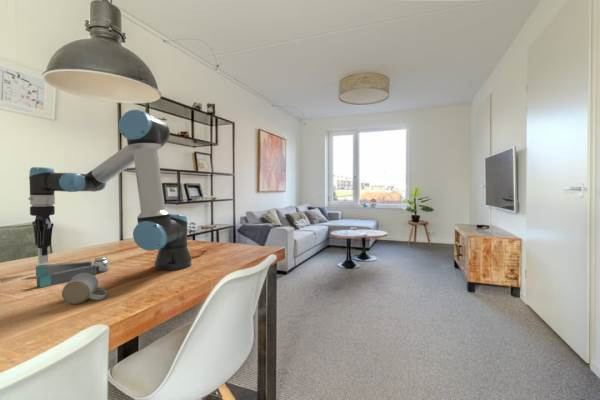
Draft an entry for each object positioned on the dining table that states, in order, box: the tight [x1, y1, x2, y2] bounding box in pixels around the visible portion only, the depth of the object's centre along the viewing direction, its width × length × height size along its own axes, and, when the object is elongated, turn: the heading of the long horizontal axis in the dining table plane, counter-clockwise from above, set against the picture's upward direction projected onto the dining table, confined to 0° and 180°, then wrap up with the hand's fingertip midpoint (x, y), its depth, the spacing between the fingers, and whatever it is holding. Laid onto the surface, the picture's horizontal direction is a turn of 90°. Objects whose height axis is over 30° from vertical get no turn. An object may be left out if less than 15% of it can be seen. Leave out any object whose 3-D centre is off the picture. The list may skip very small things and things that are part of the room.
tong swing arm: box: [35, 256, 107, 277], centre depth 117 cm, size 23×6×5 cm, turn 116°
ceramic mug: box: [61, 273, 108, 305], centre depth 90 cm, size 11×8×8 cm
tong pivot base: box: [36, 258, 109, 289], centre depth 112 cm, size 24×6×4 cm, turn 151°
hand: (43, 262), depth 119 cm, fingers closed
